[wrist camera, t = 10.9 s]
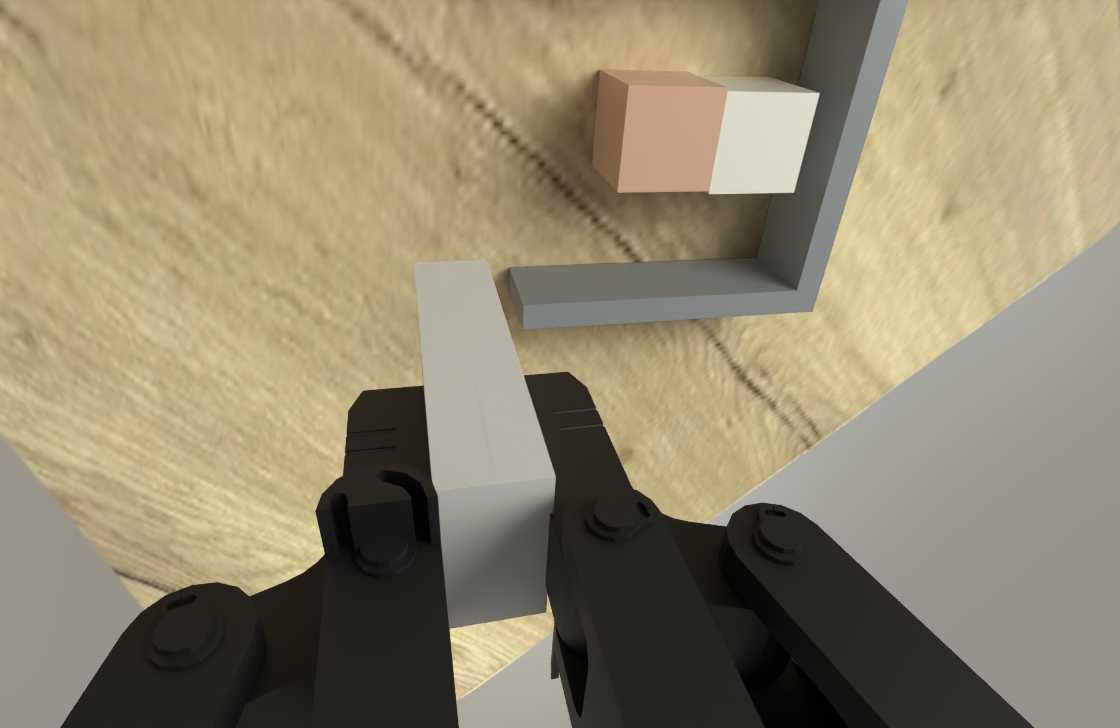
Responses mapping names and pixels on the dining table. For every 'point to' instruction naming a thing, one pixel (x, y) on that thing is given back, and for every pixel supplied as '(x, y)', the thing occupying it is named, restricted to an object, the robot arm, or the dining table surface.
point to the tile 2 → (761, 135)
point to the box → (792, 219)
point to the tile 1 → (657, 130)
